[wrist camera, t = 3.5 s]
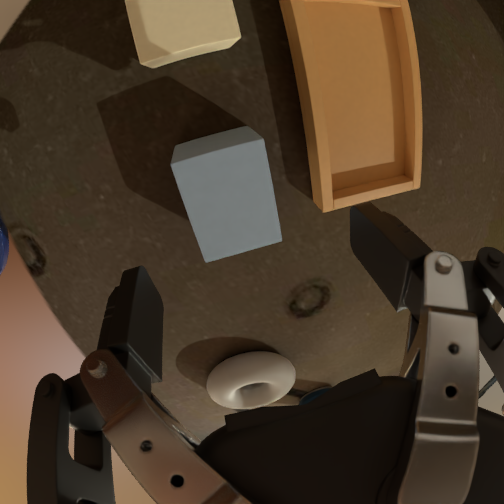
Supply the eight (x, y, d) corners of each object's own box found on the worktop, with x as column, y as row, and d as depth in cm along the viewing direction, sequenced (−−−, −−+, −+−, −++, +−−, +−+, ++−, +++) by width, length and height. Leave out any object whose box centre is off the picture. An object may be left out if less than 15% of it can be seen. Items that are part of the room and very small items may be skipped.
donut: (253, 394, 34) (308, 356, 31) (258, 416, 32) (317, 380, 28) (188, 379, 30) (241, 334, 26) (190, 406, 27) (248, 364, 23)
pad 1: (152, 68, 12) (139, 64, 9) (132, -13, 9) (117, -36, 6) (230, 48, 13) (241, 37, 9) (209, -33, 9) (215, -61, 6)
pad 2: (201, 228, 19) (205, 263, 16) (174, 145, 15) (170, 163, 12) (265, 210, 19) (282, 241, 16) (247, 125, 16) (263, 138, 12)
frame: (313, 201, 20) (323, 213, 18) (276, -6, 11) (286, -15, 9) (406, 179, 20) (420, 188, 18) (391, 1, 11) (407, -1, 10)
